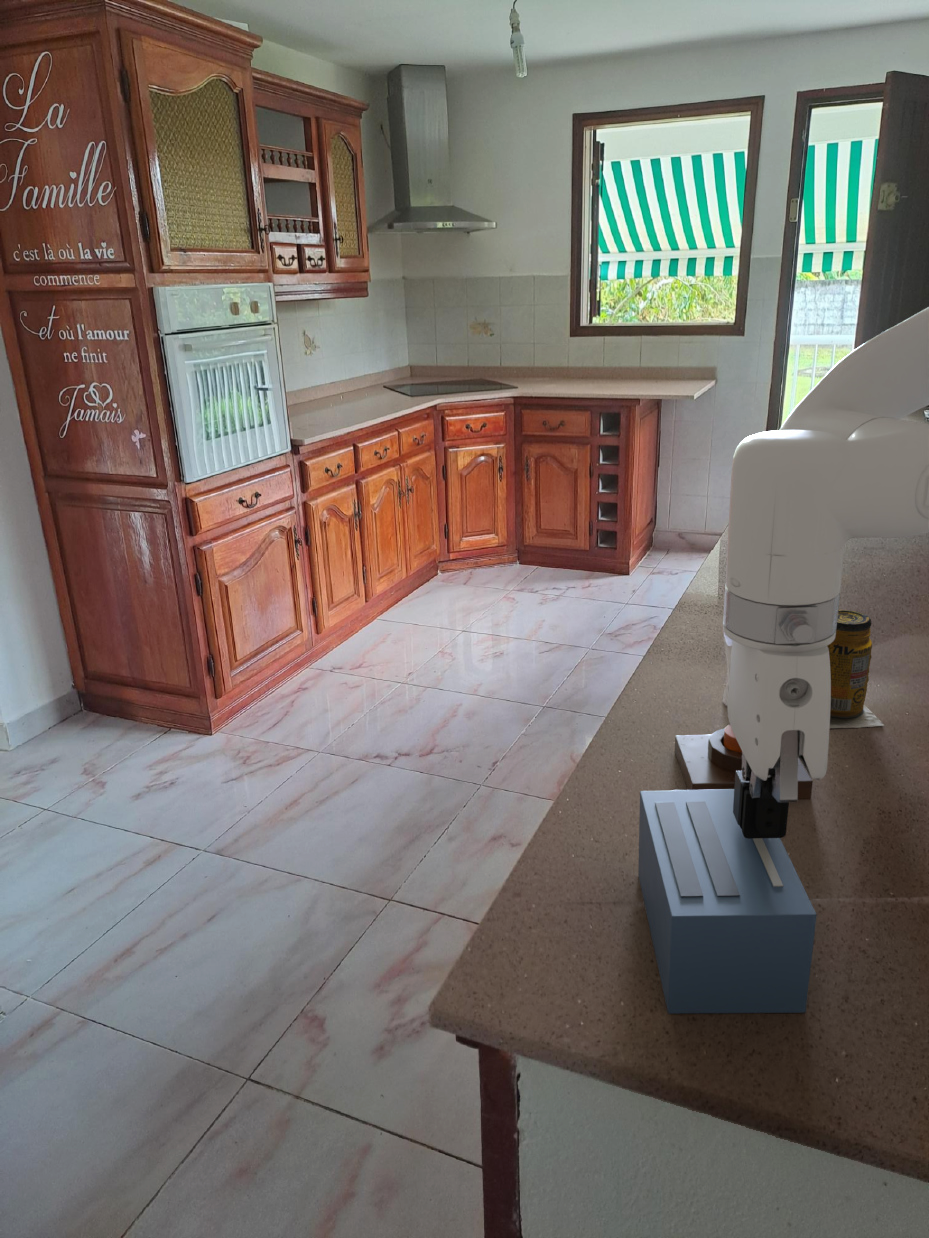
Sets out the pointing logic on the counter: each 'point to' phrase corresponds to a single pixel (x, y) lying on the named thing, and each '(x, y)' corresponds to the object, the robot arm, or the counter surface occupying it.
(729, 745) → the button
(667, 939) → the toaster
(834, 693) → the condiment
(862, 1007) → the counter surface
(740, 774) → the toaster slider
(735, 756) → the block
